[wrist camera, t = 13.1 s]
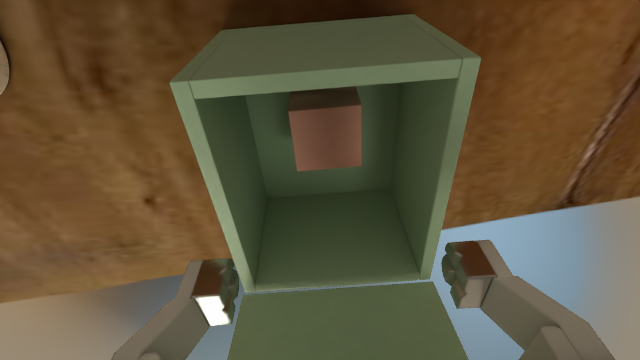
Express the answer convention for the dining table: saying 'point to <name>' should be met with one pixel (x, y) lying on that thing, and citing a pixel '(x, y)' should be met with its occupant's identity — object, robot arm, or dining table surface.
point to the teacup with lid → (3, 69)
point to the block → (326, 128)
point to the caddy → (338, 183)
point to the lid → (347, 325)
